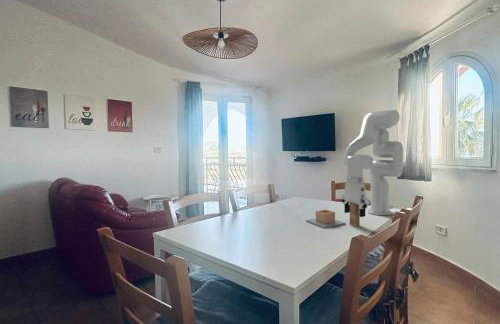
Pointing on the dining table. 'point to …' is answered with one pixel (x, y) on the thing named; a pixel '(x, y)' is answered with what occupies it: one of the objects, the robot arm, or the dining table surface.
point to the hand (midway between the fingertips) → (354, 214)
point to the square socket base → (325, 219)
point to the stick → (354, 214)
